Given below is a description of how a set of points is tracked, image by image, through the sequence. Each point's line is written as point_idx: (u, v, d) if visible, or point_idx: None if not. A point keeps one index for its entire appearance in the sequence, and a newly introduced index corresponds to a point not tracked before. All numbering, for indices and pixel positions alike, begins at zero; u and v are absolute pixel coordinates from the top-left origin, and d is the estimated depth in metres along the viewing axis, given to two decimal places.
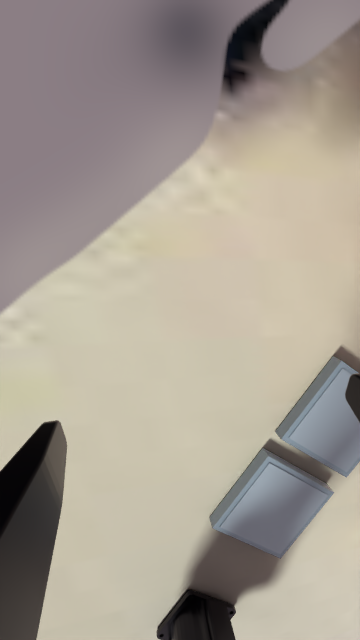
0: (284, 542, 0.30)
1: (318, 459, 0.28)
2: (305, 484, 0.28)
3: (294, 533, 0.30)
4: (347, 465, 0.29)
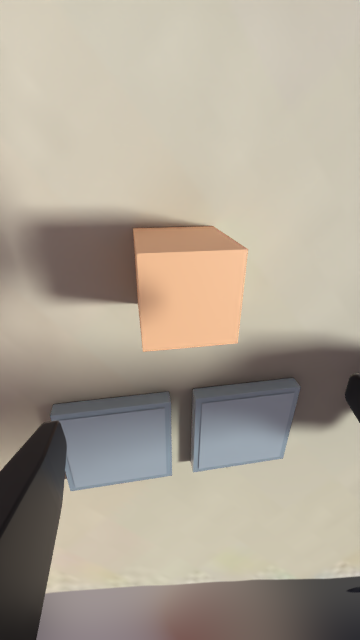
0: (278, 399, 0.25)
1: (169, 439, 0.25)
2: (201, 431, 0.25)
3: (263, 399, 0.24)
4: (156, 414, 0.23)
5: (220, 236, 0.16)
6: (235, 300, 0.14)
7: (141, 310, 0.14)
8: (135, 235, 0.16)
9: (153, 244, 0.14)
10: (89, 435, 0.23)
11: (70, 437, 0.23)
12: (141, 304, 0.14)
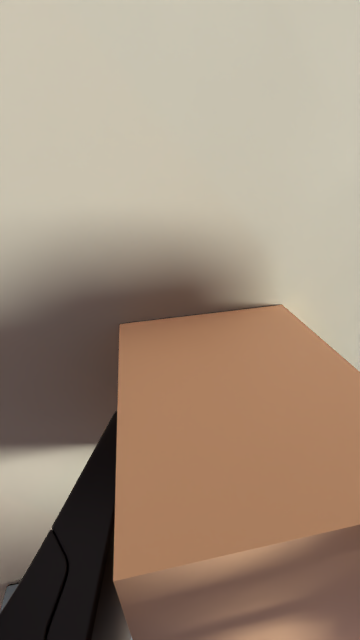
0: None
1: None
2: None
3: None
4: None
5: (332, 367, 0.06)
6: None
7: None
8: (122, 369, 0.07)
9: (171, 442, 0.05)
10: None
11: None
12: None
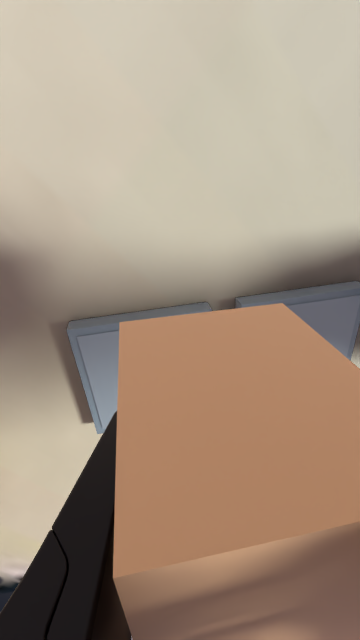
0: (341, 304, 0.20)
1: None
2: None
3: (323, 304, 0.20)
4: None
5: (333, 365, 0.06)
6: None
7: None
8: (122, 366, 0.07)
9: (171, 439, 0.05)
10: (115, 357, 0.19)
11: (93, 359, 0.19)
12: None
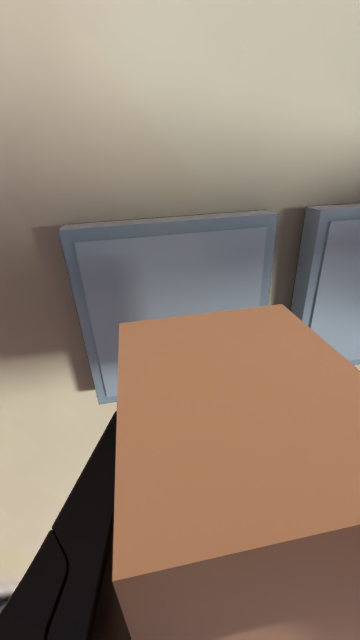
0: None
1: (265, 303, 0.14)
2: (320, 287, 0.14)
3: None
4: (251, 241, 0.13)
5: (333, 366, 0.06)
6: None
7: None
8: (121, 368, 0.07)
9: (170, 441, 0.05)
10: (131, 282, 0.13)
11: (98, 284, 0.12)
12: None
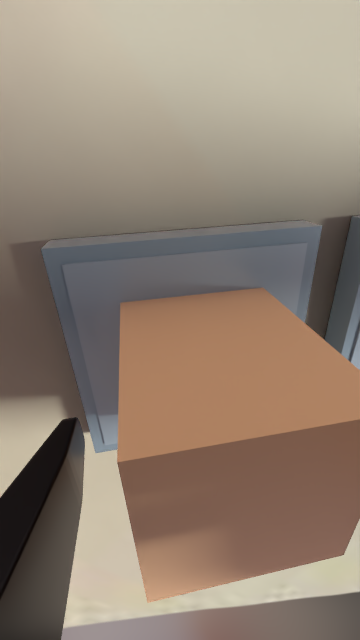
0: None
1: None
2: None
3: None
4: (287, 260, 0.10)
5: (298, 333, 0.08)
6: (354, 499, 0.06)
7: (139, 551, 0.06)
8: (122, 335, 0.08)
9: (162, 383, 0.06)
10: None
11: (93, 316, 0.10)
12: (138, 542, 0.06)
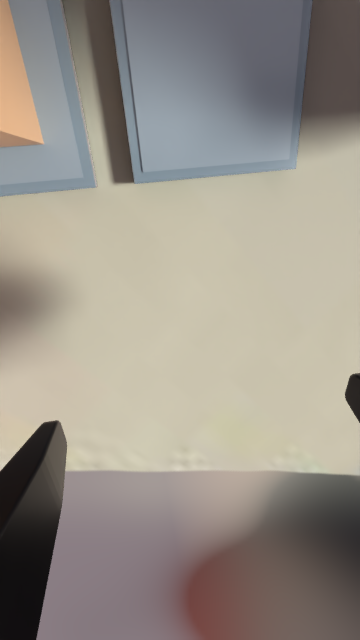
0: None
1: (69, 67, 0.13)
2: (130, 47, 0.13)
3: None
4: None
5: None
6: None
7: None
8: None
9: None
10: None
11: None
12: None
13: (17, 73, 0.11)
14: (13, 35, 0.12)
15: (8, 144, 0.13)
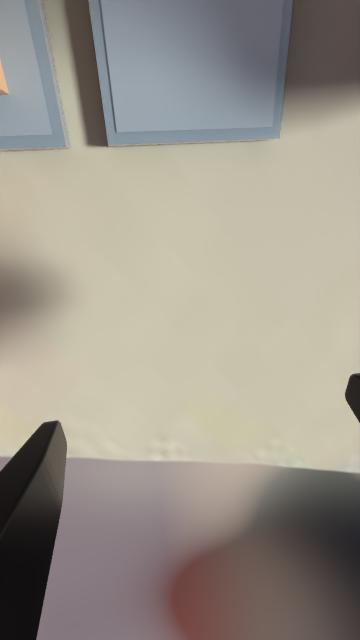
0: None
1: (36, 10, 0.12)
2: None
3: None
4: None
5: None
6: None
7: None
8: None
9: None
10: None
11: None
12: None
13: None
14: None
15: None
